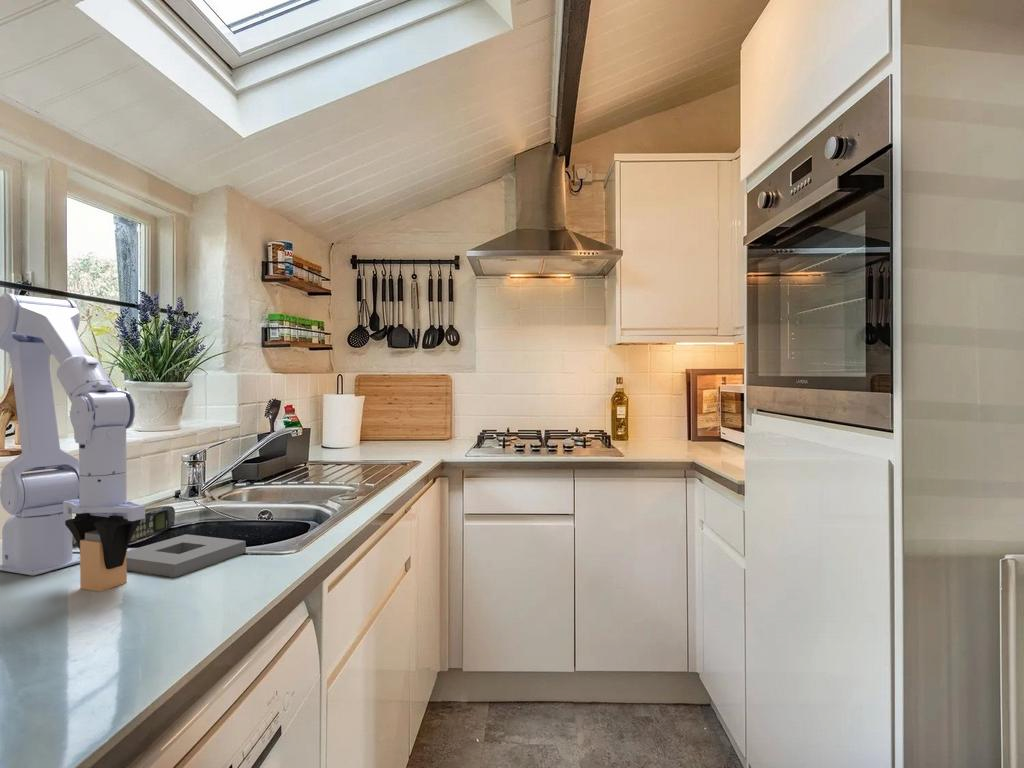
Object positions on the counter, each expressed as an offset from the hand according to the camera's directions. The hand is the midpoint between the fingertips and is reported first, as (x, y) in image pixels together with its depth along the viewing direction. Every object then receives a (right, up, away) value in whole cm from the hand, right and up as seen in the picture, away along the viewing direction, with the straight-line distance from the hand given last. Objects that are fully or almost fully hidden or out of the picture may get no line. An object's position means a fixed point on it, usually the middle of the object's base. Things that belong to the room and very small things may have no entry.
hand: (103, 565), depth 85 cm
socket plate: (+4, -3, +12) cm, 13 cm away
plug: (0, -3, 0) cm, 3 cm away
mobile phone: (-12, -3, +29) cm, 31 cm away
